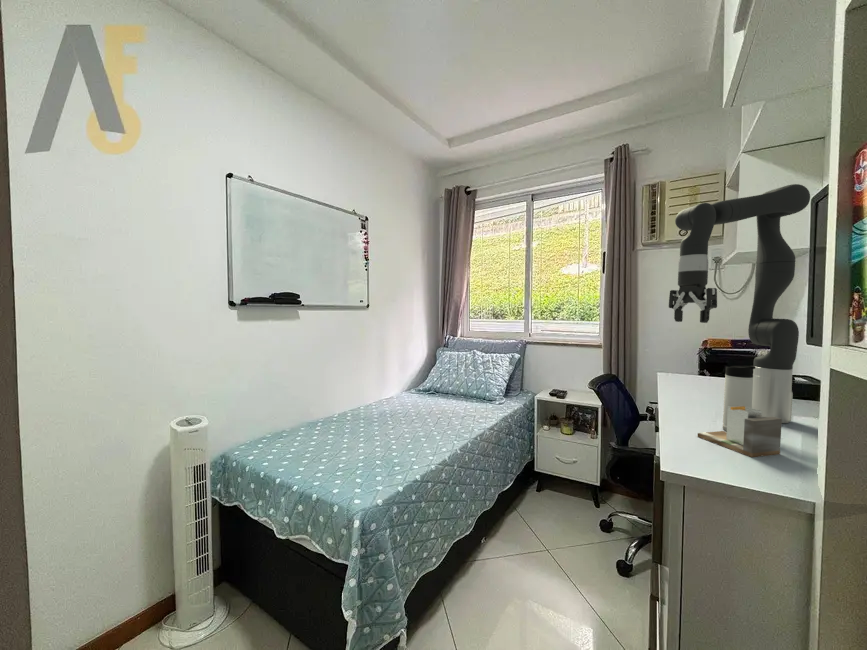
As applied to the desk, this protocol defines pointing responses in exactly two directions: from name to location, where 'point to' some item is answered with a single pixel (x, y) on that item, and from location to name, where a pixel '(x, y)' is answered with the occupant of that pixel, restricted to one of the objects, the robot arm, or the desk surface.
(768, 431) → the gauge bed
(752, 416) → the white card box
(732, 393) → the travel mug
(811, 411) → the desk surface
